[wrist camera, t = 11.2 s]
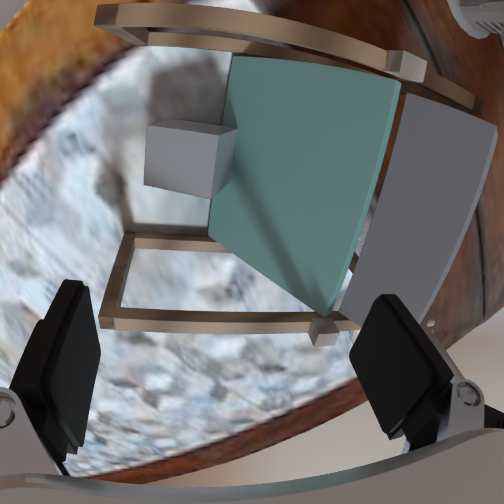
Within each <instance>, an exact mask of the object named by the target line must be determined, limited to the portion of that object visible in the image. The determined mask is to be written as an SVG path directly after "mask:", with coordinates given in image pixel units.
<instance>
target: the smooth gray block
mask: <svg viewBox="0 0 504 504" xmlns="http://www.w3.org/2000/svg"><path fill="white" fill-rule="evenodd" d="M237 133H238V129H237V128H231V127H225V126H219V125H213V124H206V123H200V122H193V121H185V120H177V119H175V120H170V121H165V122H160V123H156V124H151V125H147V135H146V148H145V165H144V185H147V186H152V187H156V188H161V189H166V190H170V191H175V192H179V193H184V194H188V195H193V196H197V197H202V198H206V199H210V200H211V199H212V198H213V197H214V196H215V195H216V194H217V193H218V192H220V191H221V190H222V189H223V188H224V187H225V186H226V185H228V184H229V183H230V179H231V172H232V165H233V159H234V152H235V146H236V139H237Z"/></svg>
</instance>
